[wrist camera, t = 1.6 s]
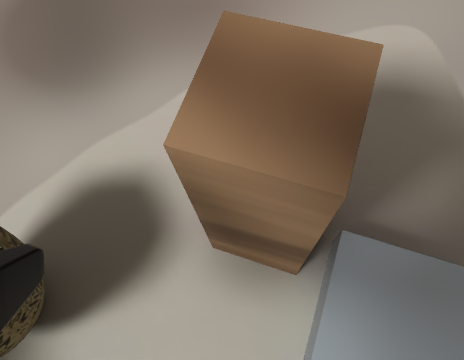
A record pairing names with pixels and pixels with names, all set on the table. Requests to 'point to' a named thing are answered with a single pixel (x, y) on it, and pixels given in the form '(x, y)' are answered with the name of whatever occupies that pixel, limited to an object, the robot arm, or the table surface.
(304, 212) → the walnut pillar
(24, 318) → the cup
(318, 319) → the slate block
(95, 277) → the table surface
